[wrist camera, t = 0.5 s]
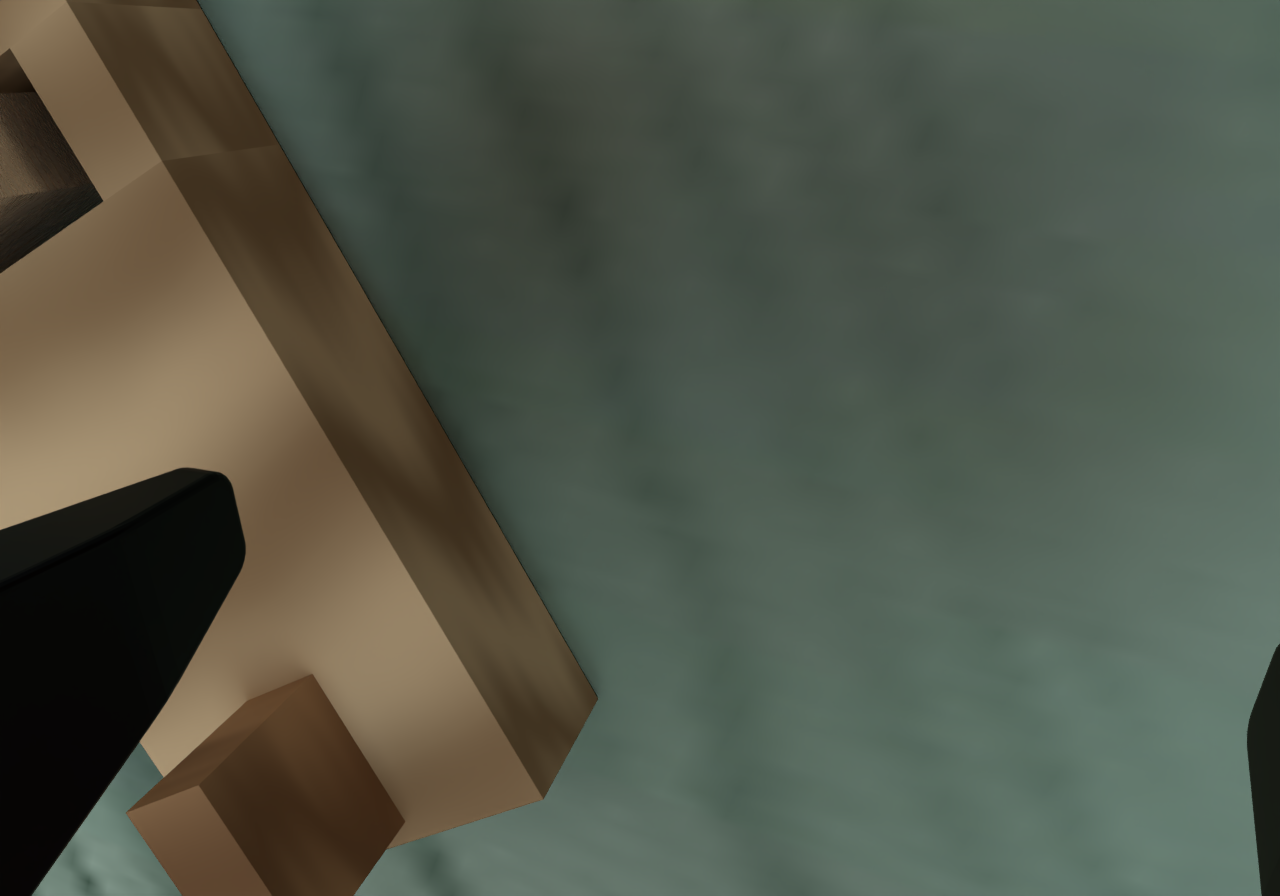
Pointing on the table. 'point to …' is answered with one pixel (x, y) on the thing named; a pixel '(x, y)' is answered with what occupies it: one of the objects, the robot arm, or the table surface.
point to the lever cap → (36, 178)
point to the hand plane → (265, 477)
